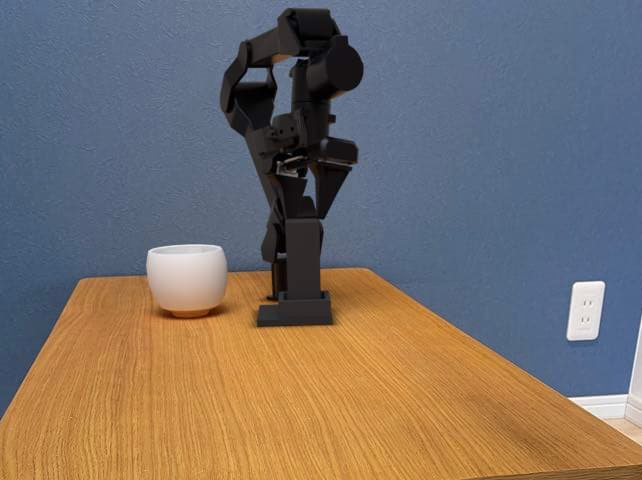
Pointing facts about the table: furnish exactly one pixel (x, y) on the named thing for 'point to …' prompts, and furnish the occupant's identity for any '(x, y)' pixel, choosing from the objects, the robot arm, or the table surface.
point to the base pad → (296, 311)
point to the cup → (187, 278)
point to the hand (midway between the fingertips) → (304, 222)
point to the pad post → (303, 258)
